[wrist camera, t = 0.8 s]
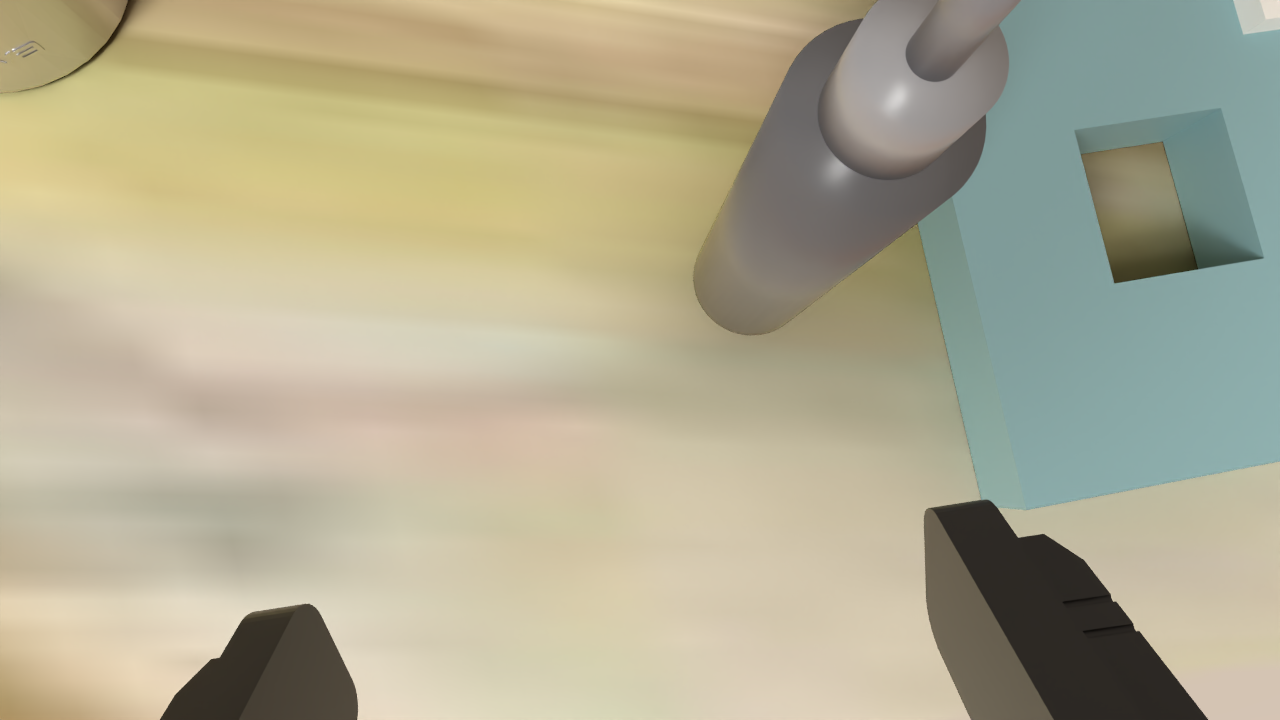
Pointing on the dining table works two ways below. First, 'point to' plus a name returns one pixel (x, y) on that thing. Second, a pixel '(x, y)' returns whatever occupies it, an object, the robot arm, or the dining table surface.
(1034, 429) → the socket plate
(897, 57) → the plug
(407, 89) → the dining table surface
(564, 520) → the dining table surface
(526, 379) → the dining table surface
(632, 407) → the dining table surface
